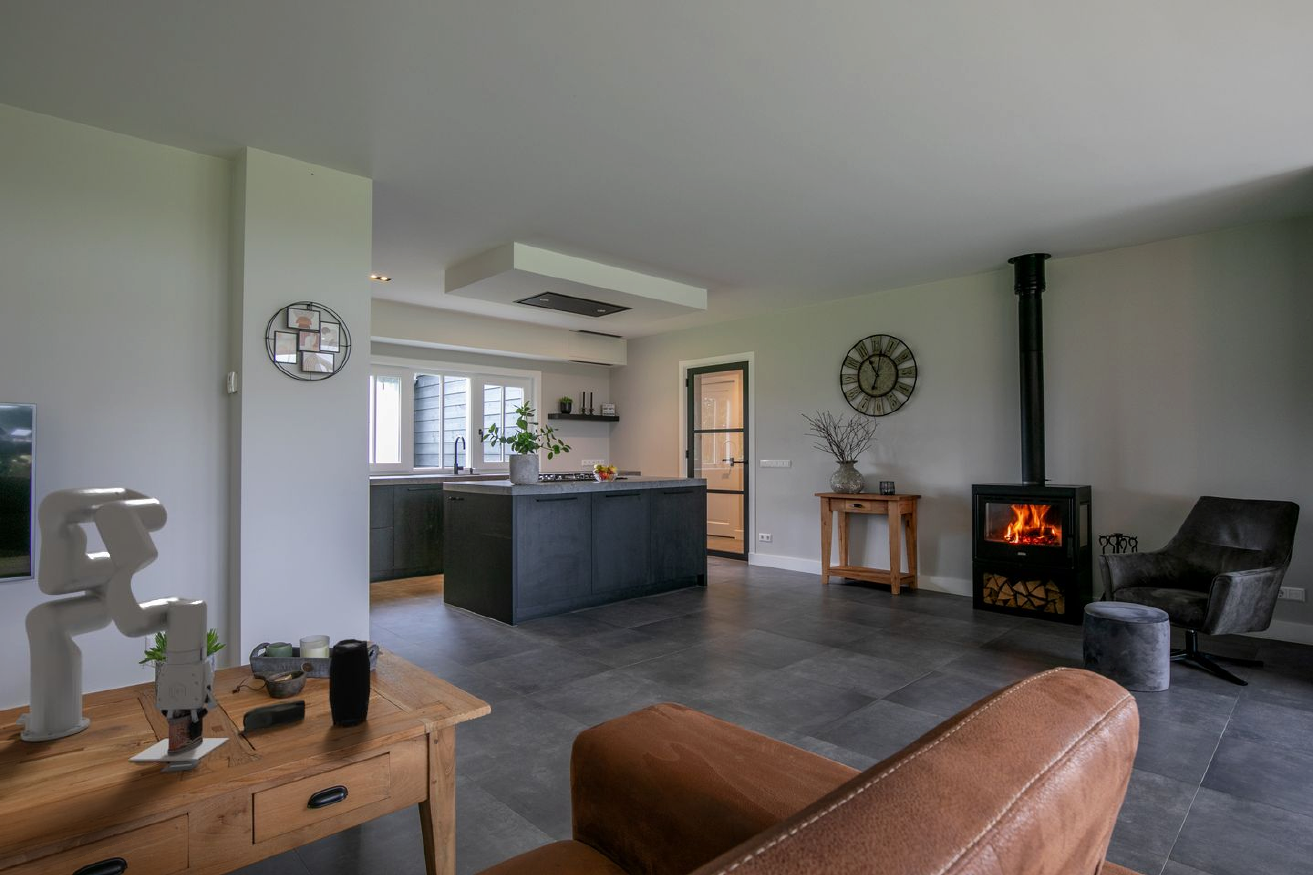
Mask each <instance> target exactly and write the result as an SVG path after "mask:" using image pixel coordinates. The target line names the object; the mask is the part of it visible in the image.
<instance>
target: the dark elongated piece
mask: <svg viewBox="0 0 1313 875" xmlns="http://www.w3.org/2000/svg"><path fill="white" fill-rule="evenodd" d="M305 717H306V701H305V700H304V699H299V700H294V701H288V702H282V703H276V704H271V705H270V704H269V705H265V706H260V707H256V708H254V709H252V710H249V711H247V712H245V713H244V715H243V719H242V724H243V725H242V726H243V729H242V730H239V731H237V735H242V734H245V733H251V732H255V731H258V729H260V730H264V729H263V728H265V729H269V728H272V727H276V726H281V725H286V724H290V723H294V722H299V721H301V720H303V719H304V718H305ZM254 730H255V731H254ZM250 731H251V732H250Z"/></svg>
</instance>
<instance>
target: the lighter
mask: <svg viewBox="0 0 1313 875" xmlns="http://www.w3.org/2000/svg"><path fill="white" fill-rule="evenodd" d="M174 715H175V716H173V717H171V718H169V719H168V722H167V725H168V739H169V747H168V750H167V754H168V755H176V754H179V753H182V752H184V751H187V750H189V749H191V748H193V747H195V746H197V745H199V744H200V743H202V742H203V738H204V736H203V734H202V735H201V736H199V737H198V738H196V739H194V740H190V739H189V736H190V722H192V715H191V710H178V709H174Z"/></svg>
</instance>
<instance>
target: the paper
mask: <svg viewBox="0 0 1313 875" xmlns="http://www.w3.org/2000/svg"><path fill="white" fill-rule="evenodd" d="M228 741H230V737H227V738H226V737H224V738H223V737H219V738H218V737H216V738H215V737H214V738H213V737H210V738H207V737H205V738H204V737H203V742H202V743H200V744H199V745H197V746H195V747H193V748H191V749H189V750H187V751H184V752H182V753H179V754H176V755H168V754H167V750H168V747H169V738H164V739H162V740H160V741H158V742H157V743H155V744H153V745H152V746H150V747H148V748H146V749H144V750H143V751H141V752H139V753H138V754H136V755H134V756H133V757H130V758H129V759H128V762H188V761H197V760H198V761H200V760H201V759H202V757H203V756H204V757H206V756H207V755H209V754H210V753H212V752H213V751H215V750H217V749H218V748H219V747H220V745H221V746H222V745H224V744H225V743H226V742H228ZM214 749H215V750H214ZM205 755H206V756H205ZM204 757H203V758H204ZM200 758H201V759H200ZM199 759H200V760H199Z"/></svg>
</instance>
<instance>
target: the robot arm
mask: <svg viewBox="0 0 1313 875" xmlns="http://www.w3.org/2000/svg"><path fill="white" fill-rule="evenodd" d="M37 511H38V512H37V520H38V525H39V530H40V535H41V539H40V540H41V542H40V543H41V544H40V553H39V560H38V561H39V563H38V572H37V573H38V576H37V582H38V584H37V585H38V588H39V590H40V591H41V593H42V594H44V595H48V596H60V595H68V594H74V593H80V592H84V594H82V595H78V596H77V595H75V596H69V597H65V598H64V597H63V598H58V599H54V600H50V601H49V600H48V601H46V602H42V603H40V604H38V605H36V606H34V607H32V608H31V609H30V610H29V611H28V613H27V614H26V615H25V620H24V622H25V623H24V624H25V625H24V626H25V632H26V636H27V639H28V645H29V654H30V660H29V661H30V663H29V664H30V668H29V669H30V670H29V671H30V682H29V685H30V686H29V688H30V690H29V693H30V694H29V712H28V713H22V714H21V715H20V717H19V718H18V719H16V720H15V724H16V725H17V726H19V725H21V726H22V725H25V727H24V730H23V731H21V733H20V739H21V740H22V741H25V742H42V741H50V740H57V739H61V738H64V737H67V736H72V735H74V734H76V733H79V732H80V733H81V731H84V730H85V729H87V728H88V727H89V726H90V724H91V720H90V718H89V717H85V716H83V653H82V650H81V648H80V647H79V646H78V645H77V644H76V643H75V641H73V637H76V636H80V635H83V634H88V633H92V632H97V631H100V630H103V629H106V628H107V627H109V626H110V625H111V624H112V623H114V625H115V627H116V628H117V630H118V631H119V632H120V633H121V634H122V635H123V636H125V637H127V638H131V639H133V638H134V639H135V638H140V637H141V638H142V637H145V636H148V635H154V634H157V633H161V632H166V649H165V650H163V651H162V653H161V655H162V657H164V658H165V660H166V662H164V663H162V664H161V670H160V673H159V677H158V683H157V694H156V702H155V704H154V705H153V706H154V707H153V708H154V709H155V710H157V711H159V712H160V713H161V714H162V715H163V716H164V717H165V718H166V722H167V723H168V719H169V718H171V717H173V716H175V715H174V709H178V710H191V715H192V722H190V736H189V739H190V740H194V739H196V738H198V737H199V736H201V735H202V736H203V731H204V730H203V729H204V728H203V726H204V725H203V721H204V720H203V719H204V718H206V716H207V715H208V713H210V712H211V711H213V710H214V709H215V708H217V707H218V706H219V703H218V701H217V700H216V698H215V696H214V683H213V682H214V681H213V680H214V679H213V673H212V666H211V662H210V659H208V658H207V656H208V655H207V653H208V652H207V651H208V649H207V648H208V643H207V642H208V604H207V602H206V601H205V600H203V599H199V598H192V599H191V598H190V599H189V598H186V597H183V596H181V595H170V596H165V597H159V598H155V599H149V600H145V601H139V602H138V601H137V599H136V597H135V596H134V593H133V589H132V579H133V577H134V575H135V574H136V573H138V572H140V571H141V570H143V569H144V570H145V568H147V567H149V566H150V565H152V564H153V563H154V562H155V561H156V560H157V559H158V557H159V551H158V548H157V546H156V545H155V542H154V541H153V539H152V537H151V535H150V533H155V532H158V531H160V530H162V529H163V528H164V527H165V526H166V524H167V521H168V513H167V510H166V508H165V506H164V504H162V502H161V501H159V500H158V499H156V498H155V497H153V496H150V495H148V494H145V493H142V492H140V491H137V490H135V489H132V488H130V487H126V486H100V487H99V486H98V487H94V486H93V487H77V488H76V487H75V488H74V487H73V488H64V489H60V490H55V491H53V492H50V493H49V494H47V495H46V496H44V498H43V499H42V500H41V502H40V504H39V507H38V510H37ZM87 523H88V524H89V523H94V524H95V527H96V529H97V531H98V534H99V536H100V538H101V541H102V543H103V544H104V546H105V549H106V550H93V551H87V549H88V548H87V546H88V536H87V533H86V531H85V530H84V528H83V527H82V525H81V524H87ZM205 704H206V707H205Z"/></svg>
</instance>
